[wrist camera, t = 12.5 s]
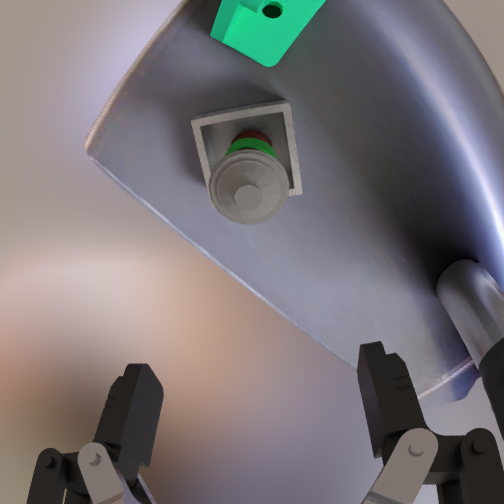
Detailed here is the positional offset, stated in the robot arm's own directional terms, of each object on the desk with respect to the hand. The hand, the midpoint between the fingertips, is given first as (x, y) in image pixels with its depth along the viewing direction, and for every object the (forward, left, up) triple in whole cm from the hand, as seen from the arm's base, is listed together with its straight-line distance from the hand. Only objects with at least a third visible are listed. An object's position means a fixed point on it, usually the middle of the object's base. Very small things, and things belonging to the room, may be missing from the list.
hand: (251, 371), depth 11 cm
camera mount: (-5, -17, -30) cm, 35 cm away
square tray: (+1, -1, -30) cm, 30 cm away
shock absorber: (0, -1, -30) cm, 30 cm away
